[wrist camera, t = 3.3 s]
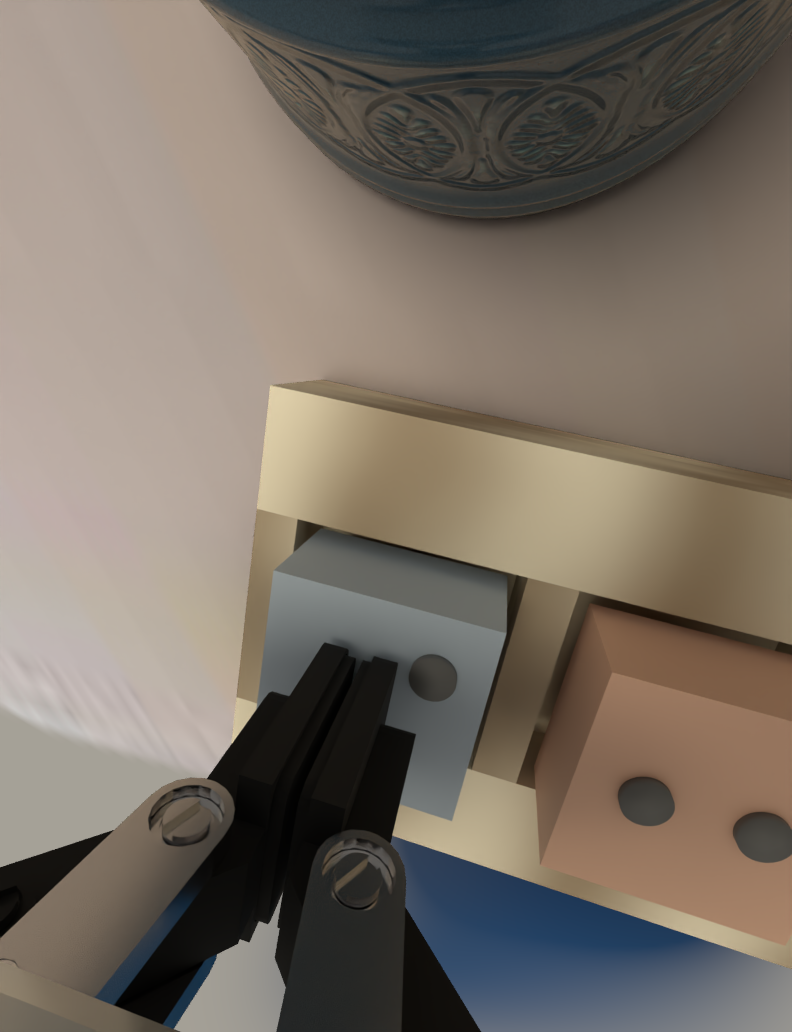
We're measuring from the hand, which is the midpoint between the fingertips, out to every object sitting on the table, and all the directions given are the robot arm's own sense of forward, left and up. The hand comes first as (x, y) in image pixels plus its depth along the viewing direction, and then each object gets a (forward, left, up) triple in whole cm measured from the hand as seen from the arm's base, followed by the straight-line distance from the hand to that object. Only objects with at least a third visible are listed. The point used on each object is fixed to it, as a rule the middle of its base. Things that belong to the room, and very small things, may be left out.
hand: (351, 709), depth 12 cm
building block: (0, 0, -3) cm, 3 cm away
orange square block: (-7, 0, -3) cm, 8 cm away
